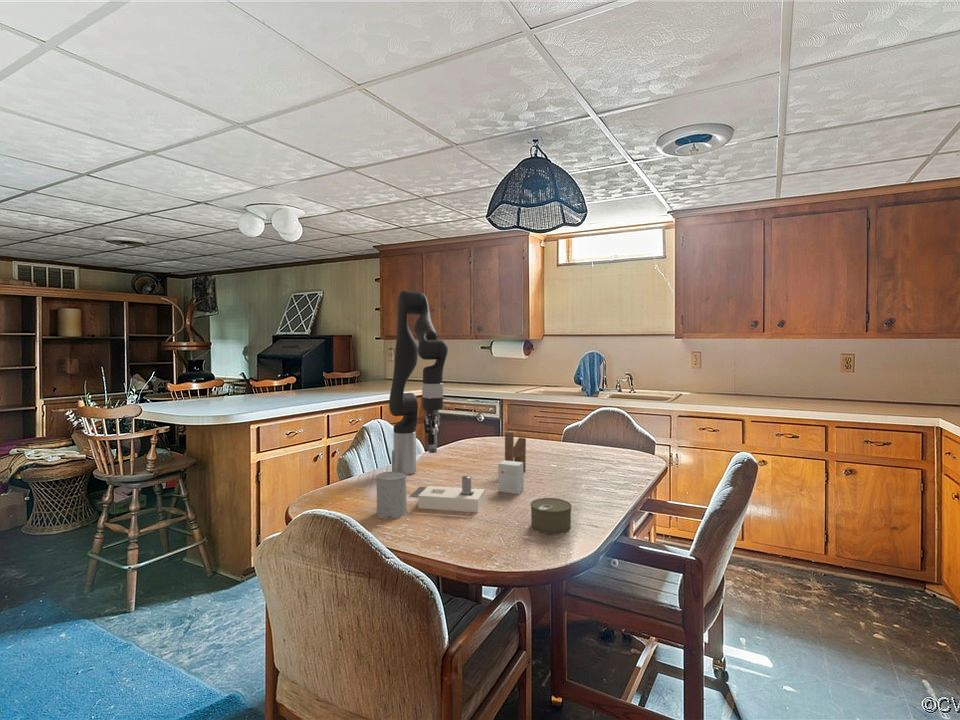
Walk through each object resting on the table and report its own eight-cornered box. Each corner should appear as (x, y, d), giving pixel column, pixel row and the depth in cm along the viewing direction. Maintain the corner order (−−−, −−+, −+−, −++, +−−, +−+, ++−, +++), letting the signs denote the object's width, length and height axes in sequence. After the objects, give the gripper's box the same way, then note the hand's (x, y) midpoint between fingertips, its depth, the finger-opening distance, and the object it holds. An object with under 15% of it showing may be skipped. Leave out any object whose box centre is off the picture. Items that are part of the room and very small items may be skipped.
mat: (409, 497, 174) (409, 496, 174) (419, 487, 186) (419, 486, 186) (447, 500, 171) (447, 499, 171) (456, 490, 183) (456, 489, 183)
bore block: (418, 509, 162) (418, 495, 162) (428, 498, 173) (428, 485, 173) (477, 513, 158) (477, 499, 158) (484, 502, 169) (484, 489, 169)
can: (578, 526, 147) (579, 503, 147) (557, 538, 138) (557, 514, 138) (545, 517, 155) (545, 495, 155) (522, 528, 146) (522, 505, 146)
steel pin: (427, 452, 177) (427, 425, 176) (429, 450, 180) (430, 423, 179) (435, 453, 176) (435, 425, 175) (437, 451, 179) (437, 423, 178)
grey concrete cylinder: (392, 521, 152) (392, 481, 151) (370, 515, 157) (369, 476, 156) (413, 511, 160) (412, 474, 159) (390, 506, 165) (390, 470, 164)
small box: (523, 490, 182) (524, 462, 182) (518, 494, 177) (518, 465, 177) (503, 487, 186) (503, 459, 185) (498, 491, 181) (498, 463, 180)
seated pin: (461, 507, 163) (461, 477, 163) (463, 504, 166) (463, 475, 166) (470, 508, 163) (470, 478, 162) (472, 505, 166) (472, 476, 165)
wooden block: (525, 471, 208) (526, 429, 207) (509, 476, 200) (509, 432, 200) (518, 470, 211) (519, 428, 210) (502, 475, 203) (502, 431, 202)
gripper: (428, 393, 184) (428, 439, 185) (416, 397, 171) (416, 447, 172) (448, 393, 183) (447, 440, 184) (437, 398, 169) (436, 448, 170)
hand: (432, 443), depth 178 cm, fingers closed on steel pin, 3 cm apart
